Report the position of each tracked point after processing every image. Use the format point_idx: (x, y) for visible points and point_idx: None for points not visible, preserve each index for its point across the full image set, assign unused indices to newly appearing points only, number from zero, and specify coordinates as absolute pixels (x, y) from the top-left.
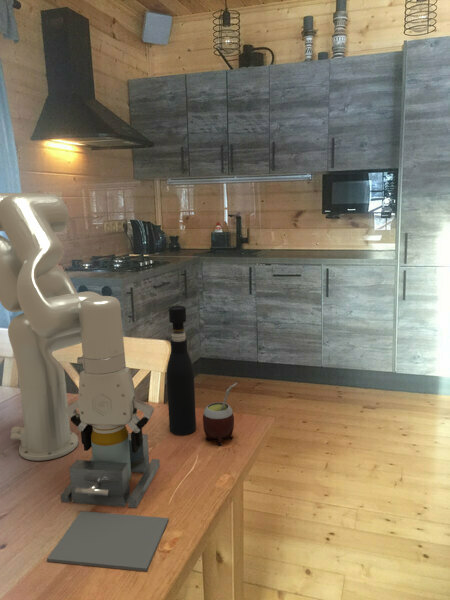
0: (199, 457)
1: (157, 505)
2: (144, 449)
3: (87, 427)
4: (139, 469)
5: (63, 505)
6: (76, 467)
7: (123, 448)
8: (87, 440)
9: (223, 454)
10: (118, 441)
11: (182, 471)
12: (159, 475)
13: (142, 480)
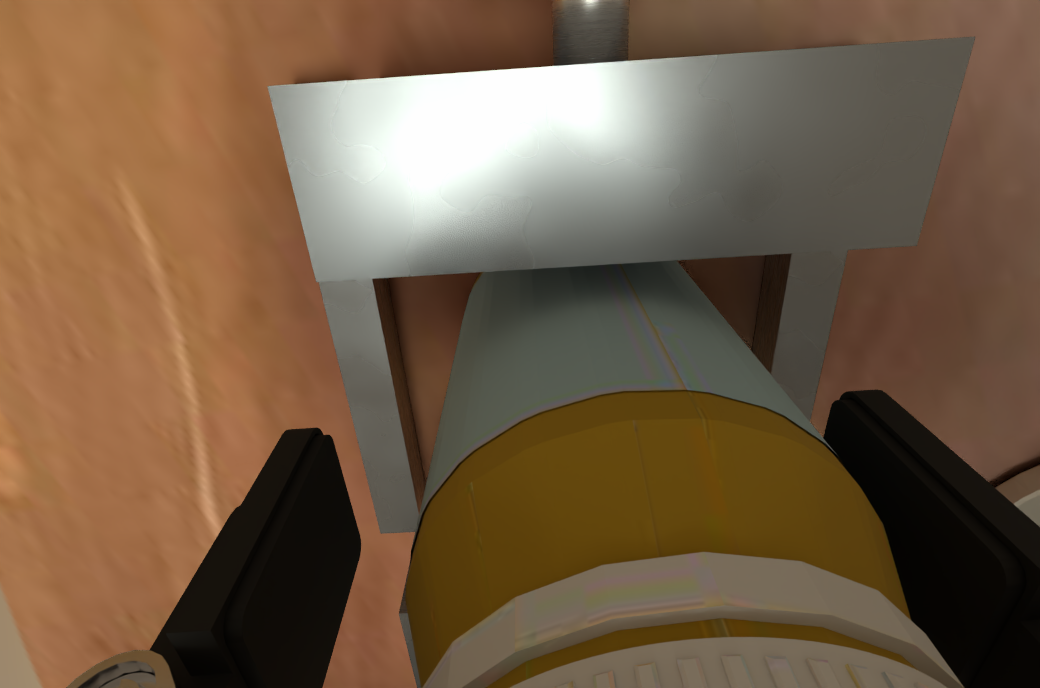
0: None
1: (179, 144)
2: None
3: (1024, 673)
4: None
5: (827, 7)
6: (881, 77)
7: (434, 457)
8: (904, 483)
9: (136, 622)
10: (446, 493)
11: (243, 478)
12: (344, 429)
13: (362, 328)
